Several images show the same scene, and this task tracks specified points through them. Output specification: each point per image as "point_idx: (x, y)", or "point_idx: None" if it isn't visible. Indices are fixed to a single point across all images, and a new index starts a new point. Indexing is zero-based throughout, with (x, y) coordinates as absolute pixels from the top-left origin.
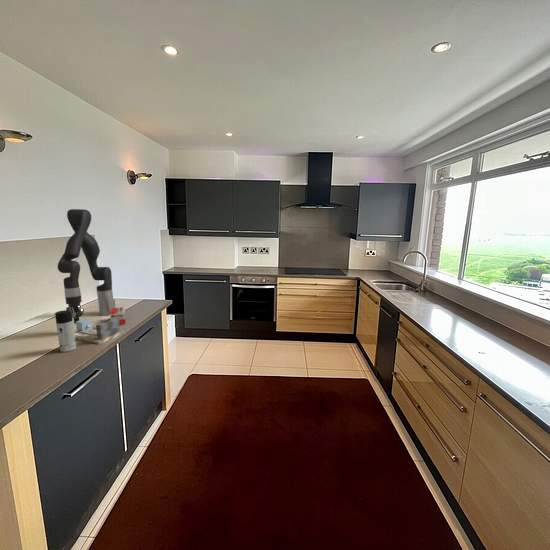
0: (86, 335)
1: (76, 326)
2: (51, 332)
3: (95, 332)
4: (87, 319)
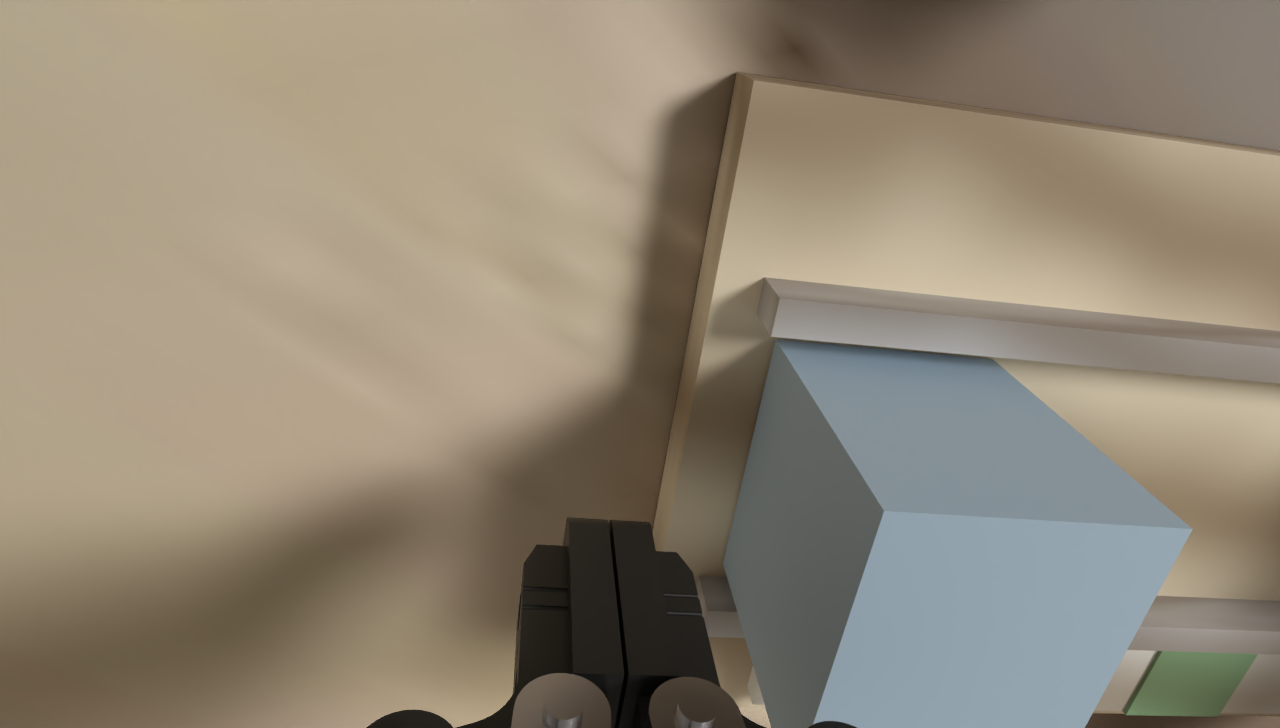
0: (1124, 672)
1: (757, 664)
2: (11, 605)
3: (1171, 479)
4: (1030, 566)
